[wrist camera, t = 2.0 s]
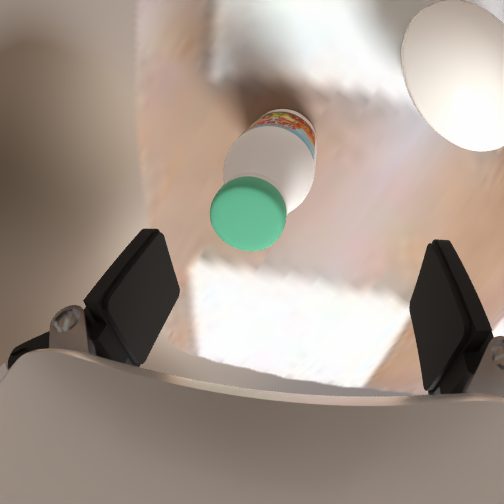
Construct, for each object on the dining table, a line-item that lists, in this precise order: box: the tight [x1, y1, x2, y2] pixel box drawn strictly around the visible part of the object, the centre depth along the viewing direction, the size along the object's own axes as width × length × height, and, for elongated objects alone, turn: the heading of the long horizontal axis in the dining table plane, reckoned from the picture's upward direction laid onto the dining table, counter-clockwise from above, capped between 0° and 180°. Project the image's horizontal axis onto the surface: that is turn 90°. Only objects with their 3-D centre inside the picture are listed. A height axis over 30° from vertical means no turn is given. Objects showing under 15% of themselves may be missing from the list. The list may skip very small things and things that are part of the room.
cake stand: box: [401, 0, 504, 151], centre depth 20 cm, size 15×15×8 cm
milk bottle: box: [210, 109, 317, 251], centre depth 25 cm, size 8×8×20 cm
